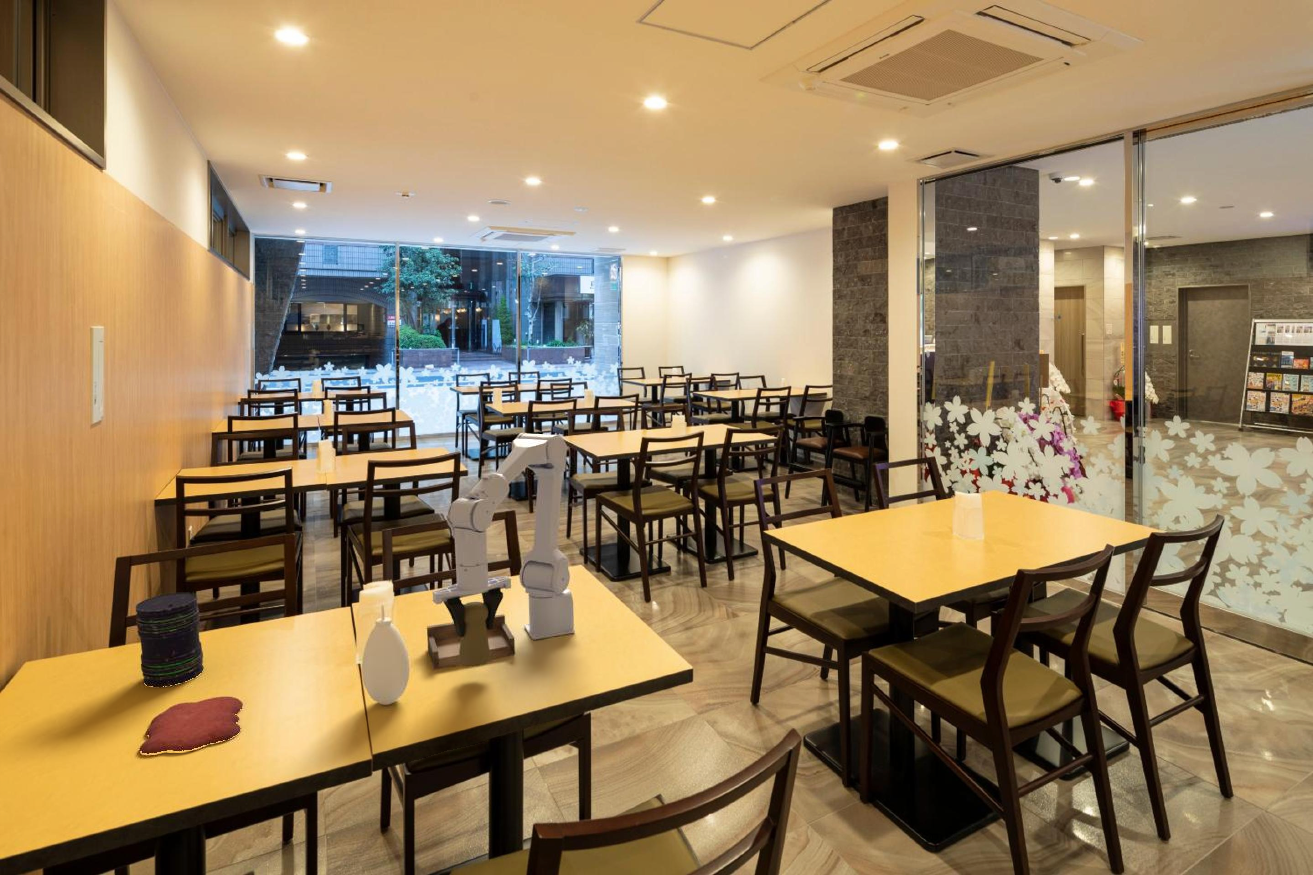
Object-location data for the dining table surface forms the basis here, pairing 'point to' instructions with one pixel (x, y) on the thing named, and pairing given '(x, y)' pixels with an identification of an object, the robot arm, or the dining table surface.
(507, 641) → the shelf
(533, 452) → the robot arm
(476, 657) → the olive brown tapered cylinder
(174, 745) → the patty
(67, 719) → the dining table surface
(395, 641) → the white egg-shaped bulb
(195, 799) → the dining table surface
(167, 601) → the navy chip stack
